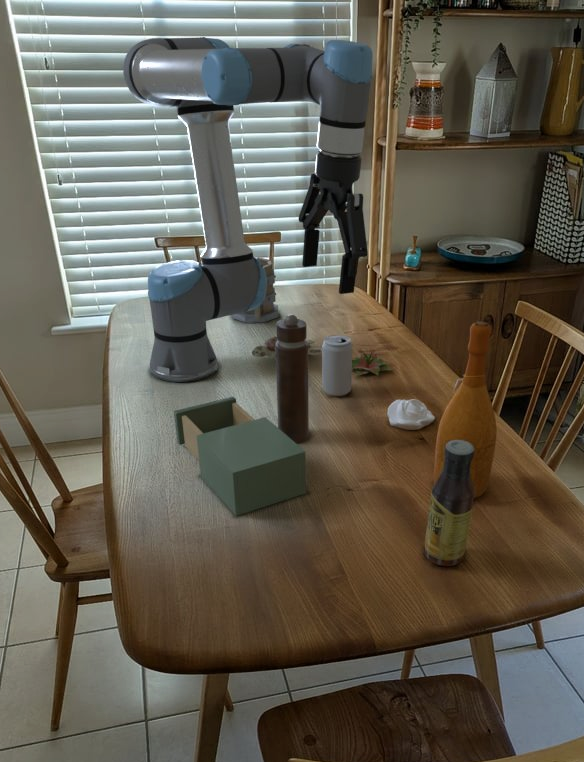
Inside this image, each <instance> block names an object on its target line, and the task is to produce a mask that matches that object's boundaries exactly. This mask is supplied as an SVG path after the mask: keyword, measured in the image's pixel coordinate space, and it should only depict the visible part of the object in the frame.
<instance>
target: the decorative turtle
mask: <svg viewBox="0 0 584 762" xmlns="http://www.w3.org/2000/svg"><path fill="white" fill-rule="evenodd" d="M277 341H278V339H277V335H275V336H273V337H270V338H267V339H265V340H264V341H263V344H262V345H257V346H255V347H253V349H252V351H251V354H252V356H254V357H257V358H264V357H270V358H273V359H274V360H275V361H276V352H275V343H276V342H277ZM305 341H307V342H308V355H311V356H312V355H313V356H316V355H317V356H318V355H320V354H322V348H314V347H311V345H313V344H315V343H316V341H315V340H311V339H307V340H306V339H305Z"/></svg>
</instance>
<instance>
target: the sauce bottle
mask: <svg viewBox="0 0 584 762" xmlns="http://www.w3.org/2000/svg"><path fill="white" fill-rule="evenodd" d="M444 454H445V460H444V467H443V470H442V472H441V474H440V476H439V478H438V479H437V481H436V483H435V485H434V484H433V487H432V488H431V491H430V501H429V505H428V513H427V515H428V516H427V523H426V531H425V540H424V548H425V549H424V554H425V555H424V556H426V558H427V560H429V561H430V562H431V563H432V564H434V565H436V566H442V567H452V566H455V565H458V564H459V563H461V562H462V561H463V558H464V554H465V552H466V547H467V542H468V536H469V531H470V524H471V519H472V515H473V508H474V499H475V498H474V492H475V489H474V484H473V481H472V479H471V478H470V476H469V474H470V466H471V460H472V458H473V457H474V447H473V445H472V444H471V443H469V442H466V441H463V440H453V441H450V442H448V443H447V444H446V446H445V451H444Z"/></svg>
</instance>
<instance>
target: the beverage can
mask: <svg viewBox="0 0 584 762" xmlns="http://www.w3.org/2000/svg"><path fill="white" fill-rule="evenodd" d="M321 347H322V348H321V350H322V353H321V354H322V355H321V358H322V359H321V374H322V375H321V381H322V382H321V388H322V391H323V392H324V393H325V394H326V395H328V396H330V397H343V396H347V395H348V393H350V392H351V391H352V382H353V381H352V379H353V377H352V376H353V368H352V360H353V344H352V339H351V338H350V337H348V336H346V335H341V334H331V335H328V336H326V337H324V338H323V343H322V345H321Z"/></svg>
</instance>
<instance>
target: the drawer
mask: <svg viewBox="0 0 584 762" xmlns="http://www.w3.org/2000/svg"><path fill="white" fill-rule="evenodd" d="M173 418H174V426H175V434H176V442H177V444H178V445H179V446H181V445H184V447H185V448H186V449H187V450H188V451H189V452H190V453H191V454H192V455H193V456H194V458H195V459H196V460H197V461H198V462H199V454H198V444H197V435H200V434H204V433H207V432H211V431H215V430H219V429H222V428H226V427H230V426H234V425H238V424H241V423H245V422H249V421H253V420H256V419H255V418H254V417H253V416H252V415H251V414H250V413H249V412H247V411H246V410H245V409H244V408H243V407H242V406H240V404H238V403H237V398H236V397H235V396H229V397H226V398H221V399H218V400H213V401H209V402H205V403H201V404H196V405H193V406H190V407H183V408H180V409H177V410H173Z"/></svg>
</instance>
